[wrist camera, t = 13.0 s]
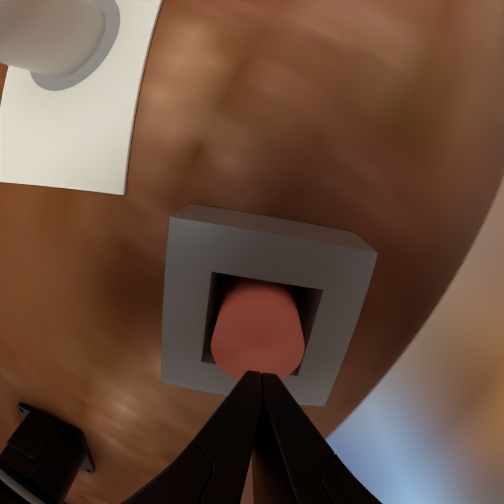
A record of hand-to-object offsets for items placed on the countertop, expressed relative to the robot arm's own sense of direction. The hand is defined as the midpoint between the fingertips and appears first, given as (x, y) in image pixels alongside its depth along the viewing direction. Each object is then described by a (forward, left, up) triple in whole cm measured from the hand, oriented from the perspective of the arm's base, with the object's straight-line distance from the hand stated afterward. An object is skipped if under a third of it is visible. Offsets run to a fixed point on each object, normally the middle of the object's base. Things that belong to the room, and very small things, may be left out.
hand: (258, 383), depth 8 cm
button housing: (0, 0, -6) cm, 6 cm away
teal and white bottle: (+11, +11, -6) cm, 17 cm away
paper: (+9, +11, -6) cm, 15 cm away
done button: (0, 0, -6) cm, 6 cm away
